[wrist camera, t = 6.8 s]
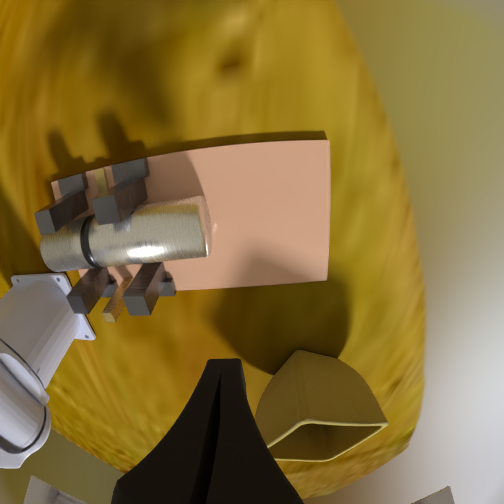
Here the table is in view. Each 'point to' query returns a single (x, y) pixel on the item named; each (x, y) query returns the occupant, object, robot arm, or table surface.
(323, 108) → the table surface
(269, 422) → the flower pot
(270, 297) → the table surface
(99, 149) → the table surface
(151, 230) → the tube
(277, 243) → the tile
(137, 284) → the rail
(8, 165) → the table surface
